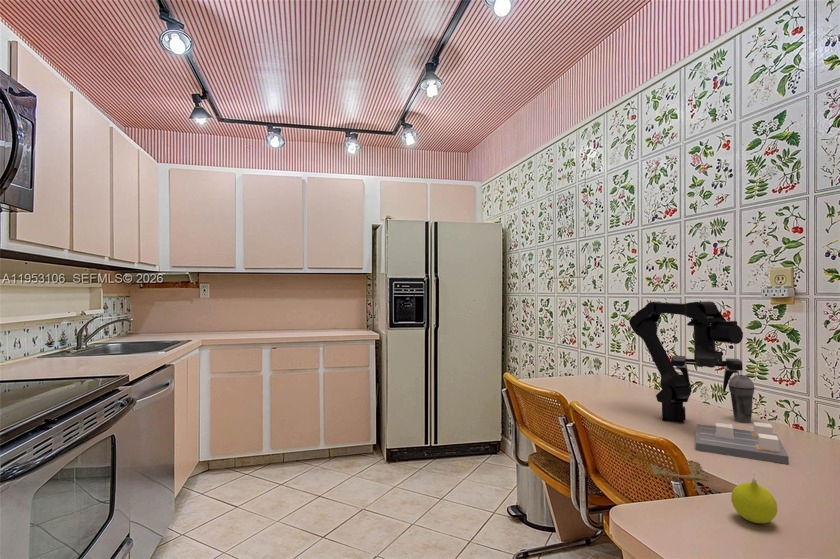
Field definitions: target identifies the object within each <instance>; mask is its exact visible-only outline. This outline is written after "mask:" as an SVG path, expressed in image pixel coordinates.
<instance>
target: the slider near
mask: <svg viewBox="0 0 840 559" xmlns="http://www.w3.org/2000/svg"><path fill="white" fill-rule="evenodd" d="M778 437H779V436H778ZM778 437H777V436H775V435H767V434H759V433H758V445H759V447H760V449H764V450H771V451H778V452H779V439H780V438H779V439H778Z"/></svg>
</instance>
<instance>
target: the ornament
mask: <svg viewBox="0 0 840 559" xmlns="http://www.w3.org/2000/svg"><path fill="white" fill-rule="evenodd" d="M753 475H754V476H755V473H754V474H753ZM730 498H731V504H732V506H733V508H734V509H735V511H736V512H737V514H738V515H739V516H741V517H742V518H744V519H745V521H746V520H747V521H749V522H751V523H754V524H768V523H769V522H771V521H773V520H774V519H775V518H776V516H777V514H778V504H777V501H776V498H775V497H774V496H773V494H772V492H770V491H769V490H768V489H767V488H766V487H764V486H762V485H760V484H758V483H757V478H756V477H752V478H751V482H741V483H739V484H737V485H736V486H735V487H734V488H733V490H732V492H731V497H730Z"/></svg>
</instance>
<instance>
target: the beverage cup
mask: <svg viewBox="0 0 840 559" xmlns="http://www.w3.org/2000/svg"><path fill="white" fill-rule="evenodd" d="M728 389H729V390H728V391H729V392H730V398H731V404H732V412H733V418H734V421H735V422H738V423H742V424H750V423H752V419H753V418H752V416H753V398H754V393H755V389H756V388H755V384H754V382H753V381H752V379H751V378H750V377H749V376H747V375H743V374H740V370H737V373H736V375H734V376H733V375H732V376H731V377H730V379H729V382H728Z"/></svg>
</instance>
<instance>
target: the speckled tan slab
mask: <svg viewBox="0 0 840 559" xmlns="http://www.w3.org/2000/svg"><path fill="white" fill-rule="evenodd" d="M686 460H687V461H688V463H689V466H690V471H691V474H689V475H680V474H677V473H674V472H672V471H670V470H667V469H664V468H661V467H658V466H655V465H653V464H650V463H649V465H650V468H651V471H652V474H653V476H654V475H655V476H664V477H669V478H671V477H672V478H678V479H679V478H680V479H687V480H694V481H695V480H696V481H702V482H703V481H704V482H710V478H709V476H708V475H707V473H706V472H705V471H704V469H703V468H702V465H701V464H700V463H699V461H693V460H688V459H686ZM700 465H701V466H700Z"/></svg>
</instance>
